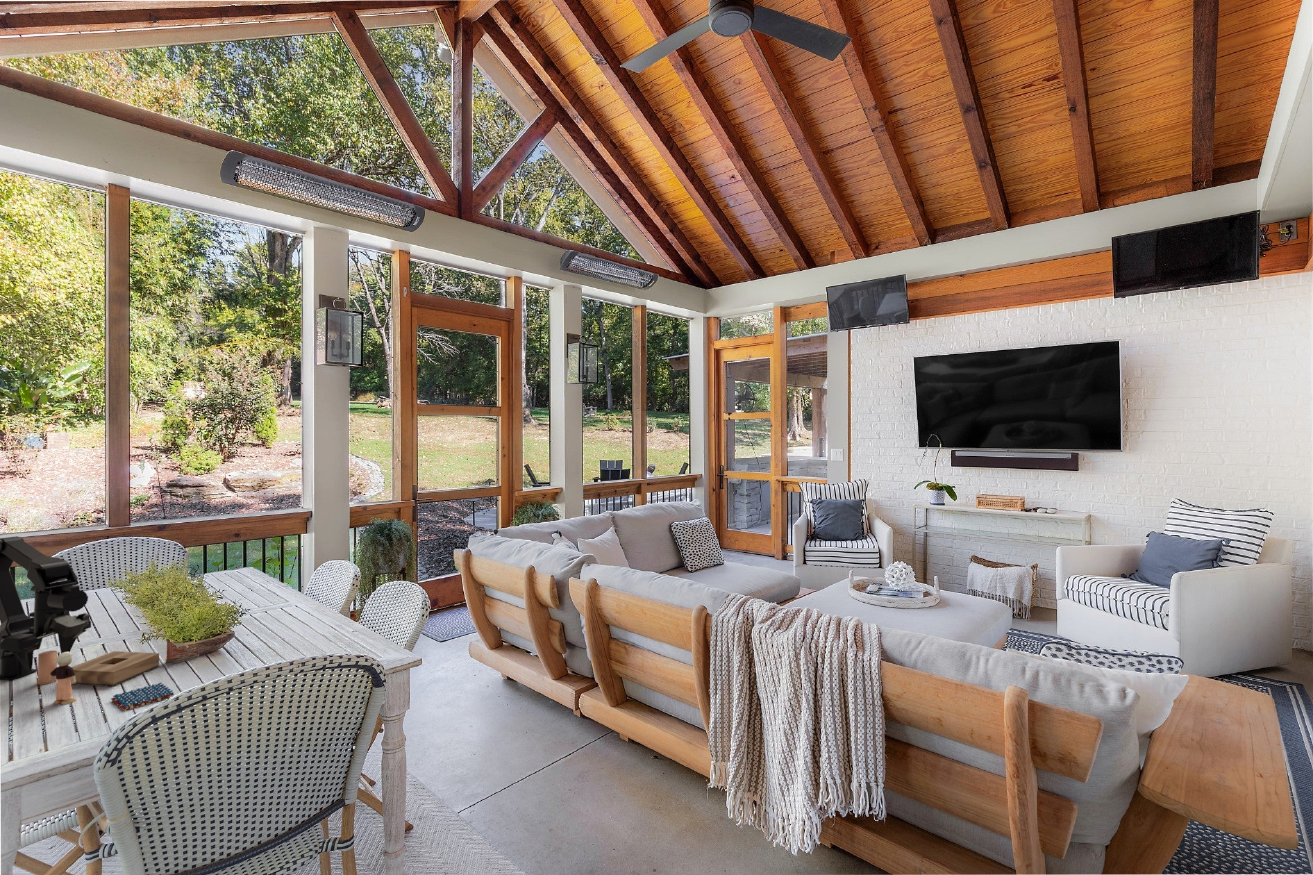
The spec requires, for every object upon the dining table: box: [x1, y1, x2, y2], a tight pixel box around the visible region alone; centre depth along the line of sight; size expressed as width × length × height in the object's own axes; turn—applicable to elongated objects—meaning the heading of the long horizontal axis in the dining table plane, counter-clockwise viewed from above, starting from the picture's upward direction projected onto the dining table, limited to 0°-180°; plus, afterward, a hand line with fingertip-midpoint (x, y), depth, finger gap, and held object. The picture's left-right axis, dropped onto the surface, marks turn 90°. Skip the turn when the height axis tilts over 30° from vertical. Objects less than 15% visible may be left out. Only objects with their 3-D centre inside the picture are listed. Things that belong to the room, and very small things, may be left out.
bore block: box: [71, 650, 160, 688], centre depth 167 cm, size 14×14×4 cm
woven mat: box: [110, 682, 175, 712], centre depth 153 cm, size 10×11×2 cm
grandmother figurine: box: [49, 651, 77, 705], centre depth 151 cm, size 8×4×13 cm, turn 92°
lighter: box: [165, 637, 200, 665], centre depth 180 cm, size 8×3×10 cm, turn 141°
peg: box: [37, 650, 58, 686], centre depth 162 cm, size 4×4×8 cm
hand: (47, 663), depth 162 cm, fingers open, 9 cm apart
